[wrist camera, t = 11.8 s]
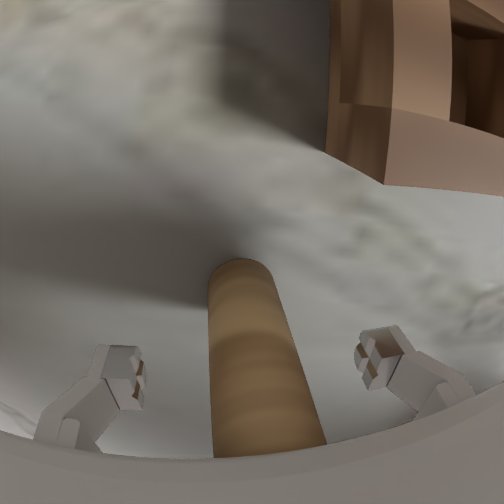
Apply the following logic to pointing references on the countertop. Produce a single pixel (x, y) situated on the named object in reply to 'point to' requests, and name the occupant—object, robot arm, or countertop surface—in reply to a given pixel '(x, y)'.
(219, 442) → the dowel
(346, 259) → the countertop surface
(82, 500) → the robot arm
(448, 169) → the block
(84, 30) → the countertop surface
